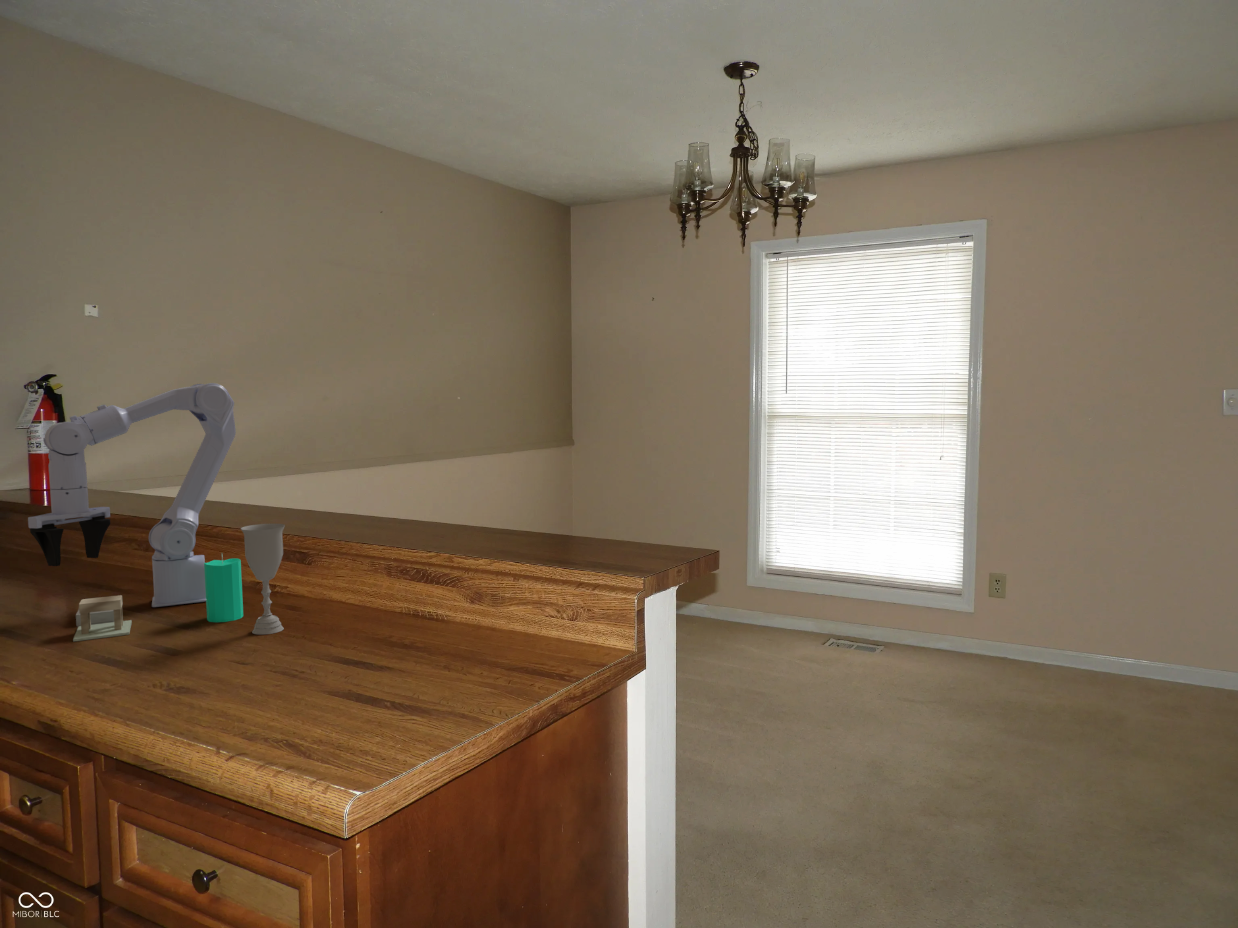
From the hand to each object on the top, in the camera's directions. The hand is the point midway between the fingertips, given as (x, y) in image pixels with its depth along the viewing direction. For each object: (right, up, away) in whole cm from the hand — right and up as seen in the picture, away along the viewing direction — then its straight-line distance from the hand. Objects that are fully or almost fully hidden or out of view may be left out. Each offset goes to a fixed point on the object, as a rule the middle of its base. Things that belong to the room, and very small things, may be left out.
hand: (73, 561), depth 152 cm
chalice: (+40, -11, -10) cm, 42 cm away
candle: (+28, -10, -1) cm, 30 cm away
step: (+5, -10, -1) cm, 12 cm away
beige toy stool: (+11, -11, -9) cm, 18 cm away
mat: (+11, -11, -9) cm, 18 cm away
